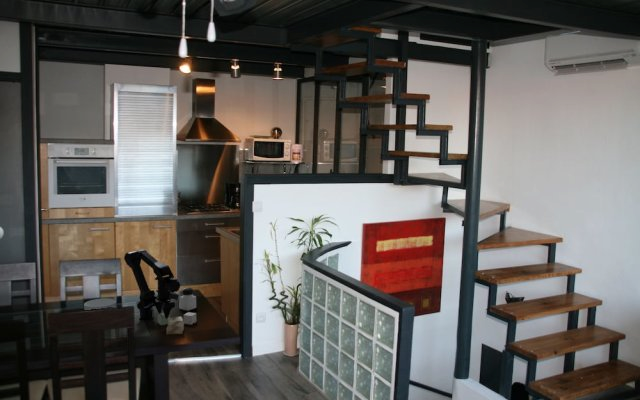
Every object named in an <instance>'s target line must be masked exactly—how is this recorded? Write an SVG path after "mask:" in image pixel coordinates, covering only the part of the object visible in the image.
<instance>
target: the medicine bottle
mask: <svg viewBox="0 0 640 400" xmlns="http://www.w3.org/2000/svg"><path fill="white" fill-rule="evenodd" d="M181 290H182V295H181V296H179V297H178V300H179V302H178V303H179V306H178V308H179V310H183V311H188V312H189V311H190V310H194V309H196V308H197V296H196V295H194V289H193V288H191V287H184V288H182V289H181Z"/></svg>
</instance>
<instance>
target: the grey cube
mask: <svg viewBox="0 0 640 400" xmlns="http://www.w3.org/2000/svg"><path fill="white" fill-rule="evenodd" d="M183 323H184V325H193V323H194V324H195V323H197V312H190V311H188V312H186V313H185V314H183Z"/></svg>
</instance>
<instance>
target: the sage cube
mask: <svg viewBox="0 0 640 400" xmlns="http://www.w3.org/2000/svg"><path fill="white" fill-rule="evenodd" d="M156 315H157V317H156V318H157V324H159V325H160V326H165V325H168V319H166V318H165V315H164V312H161V313H160V314H159V313H156ZM168 318H171V314H169V317H168Z"/></svg>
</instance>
